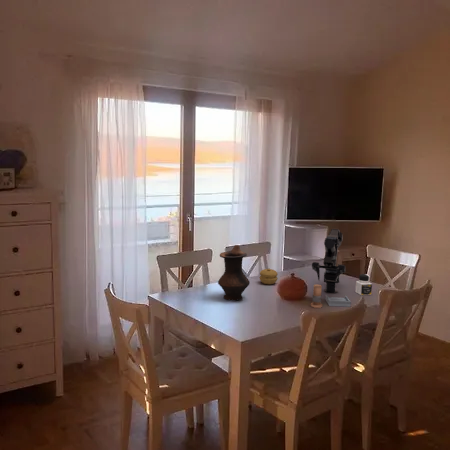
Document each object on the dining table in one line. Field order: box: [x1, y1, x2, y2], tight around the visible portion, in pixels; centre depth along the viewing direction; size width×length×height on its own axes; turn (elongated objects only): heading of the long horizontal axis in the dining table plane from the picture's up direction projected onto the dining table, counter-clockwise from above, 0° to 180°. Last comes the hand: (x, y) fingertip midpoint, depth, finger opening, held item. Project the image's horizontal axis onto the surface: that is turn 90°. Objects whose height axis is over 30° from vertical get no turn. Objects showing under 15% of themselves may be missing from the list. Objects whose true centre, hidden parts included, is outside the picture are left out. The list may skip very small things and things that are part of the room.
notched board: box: [325, 294, 352, 308], centre depth 288 cm, size 12×12×3 cm
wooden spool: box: [310, 283, 323, 309], centre depth 281 cm, size 6×6×12 cm
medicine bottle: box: [355, 273, 373, 296], centre depth 309 cm, size 7×7×12 cm
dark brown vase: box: [217, 244, 251, 301], centre depth 291 cm, size 21×18×30 cm
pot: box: [258, 268, 279, 285], centre depth 326 cm, size 12×12×10 cm
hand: (326, 281), depth 286 cm, fingers open, 9 cm apart
